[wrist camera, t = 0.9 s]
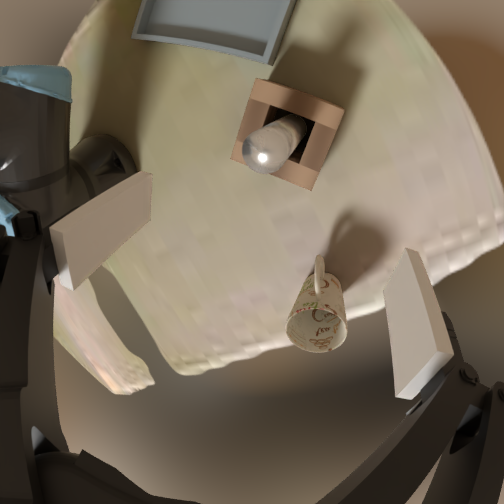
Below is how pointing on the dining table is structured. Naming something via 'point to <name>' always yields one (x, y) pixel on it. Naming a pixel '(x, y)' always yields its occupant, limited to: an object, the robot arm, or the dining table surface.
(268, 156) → the steel pin
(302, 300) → the mug
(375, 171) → the dining table surface
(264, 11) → the slate tray
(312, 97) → the wooden hollow square frame
